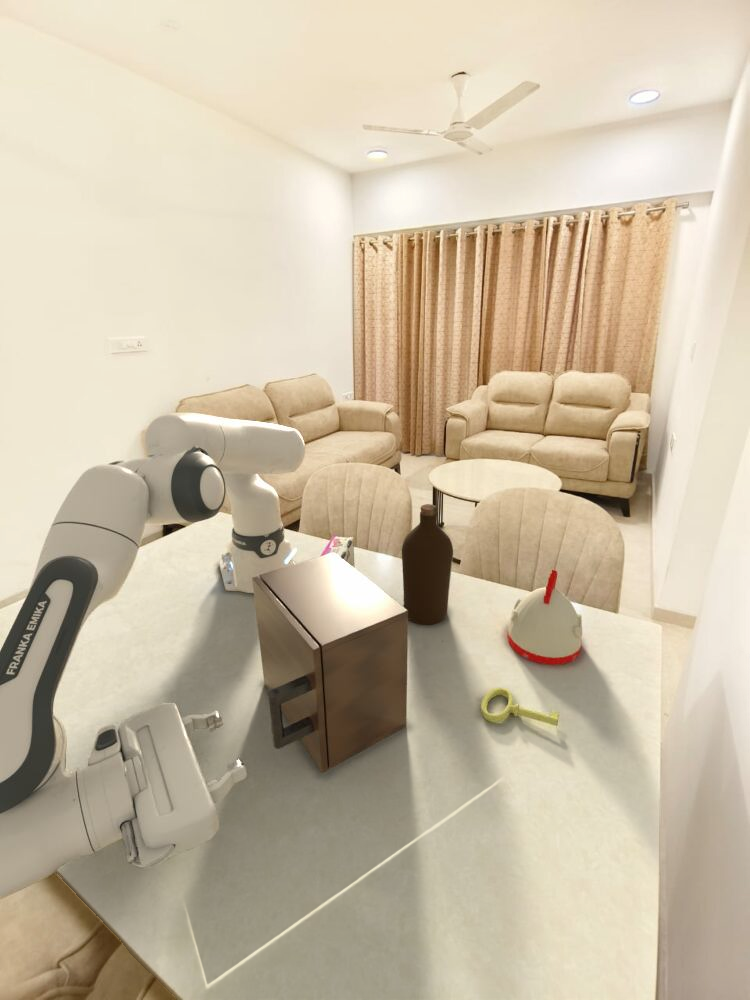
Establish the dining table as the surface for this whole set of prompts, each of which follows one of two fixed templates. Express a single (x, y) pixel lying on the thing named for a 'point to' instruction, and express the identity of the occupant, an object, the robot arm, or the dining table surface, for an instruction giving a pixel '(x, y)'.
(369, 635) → the cupboard
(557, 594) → the kitchen timer
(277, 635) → the door
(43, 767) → the robot arm
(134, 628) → the dining table surface
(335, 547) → the candy bar box
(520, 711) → the key
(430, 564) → the olive oil
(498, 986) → the dining table surface
